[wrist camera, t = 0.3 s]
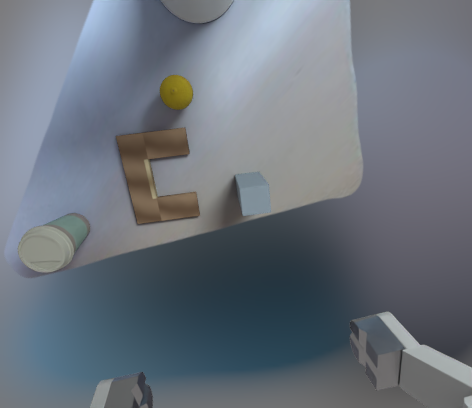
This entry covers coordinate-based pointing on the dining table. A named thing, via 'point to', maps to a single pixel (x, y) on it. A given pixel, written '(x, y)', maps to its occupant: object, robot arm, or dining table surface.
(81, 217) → the coffee cup
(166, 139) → the wooden u-shaped frame
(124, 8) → the dining table surface
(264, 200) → the blue-grey rectangular block
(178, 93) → the lemon
